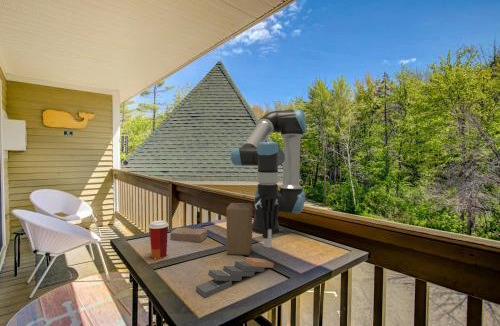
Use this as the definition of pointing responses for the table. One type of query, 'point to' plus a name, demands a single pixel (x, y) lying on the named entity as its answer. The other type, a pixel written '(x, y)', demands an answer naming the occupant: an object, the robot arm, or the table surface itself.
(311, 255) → the table surface
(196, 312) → the table surface
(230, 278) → the domino
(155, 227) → the paper cup
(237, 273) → the domino
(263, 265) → the head domino
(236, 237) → the wooden block
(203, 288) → the domino
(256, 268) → the domino
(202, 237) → the brick
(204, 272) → the table surface
